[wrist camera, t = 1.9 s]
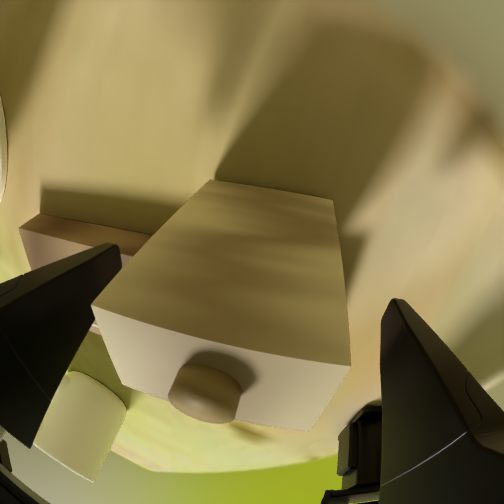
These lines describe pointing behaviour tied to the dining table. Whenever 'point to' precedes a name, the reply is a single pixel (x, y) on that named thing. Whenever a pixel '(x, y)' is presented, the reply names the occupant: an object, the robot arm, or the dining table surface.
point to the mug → (81, 424)
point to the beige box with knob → (234, 308)
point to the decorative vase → (2, 152)
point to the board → (73, 241)
